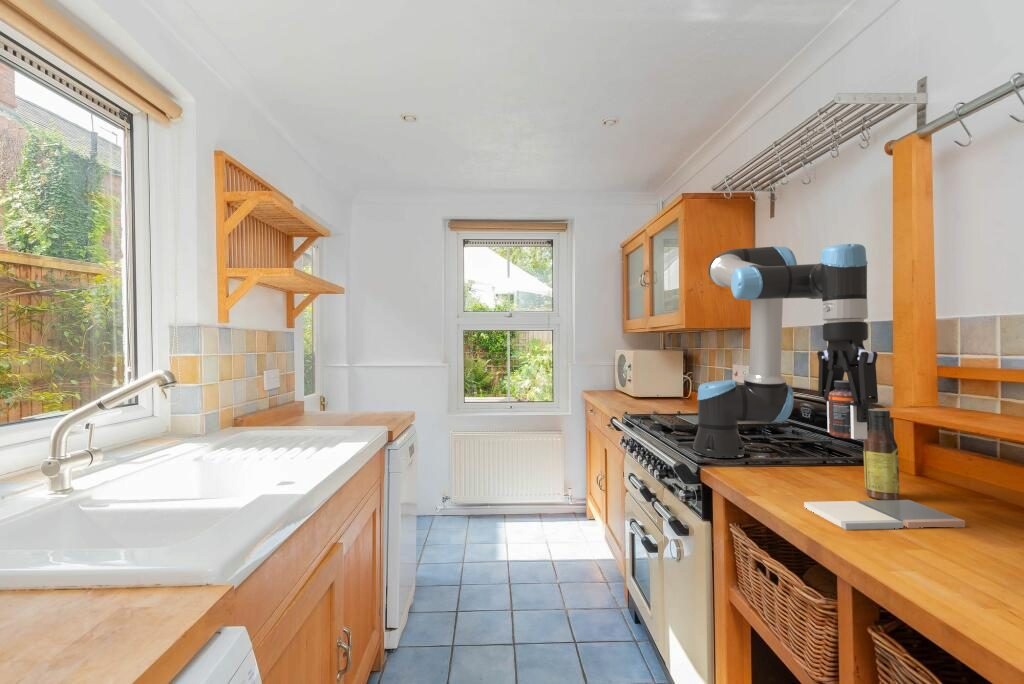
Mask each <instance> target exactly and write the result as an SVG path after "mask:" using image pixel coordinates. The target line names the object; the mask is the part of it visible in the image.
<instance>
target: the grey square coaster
mask: <svg viewBox="0 0 1024 684" xmlns="http://www.w3.org/2000/svg"><path fill="white" fill-rule="evenodd" d="M858 503H860V504H863V505H865V506H867V507H869V508H872V509H874V510H876V511H878V512H881V513H883V514H885V515H888V516H890V517H892V518H894V519H897V520H899V521H901V522H903V527H904V526H905V527H904V528H906V527H907V528H906V529H908V528H909V529H924V528H923V527H954V528H966V520H964V519H961V518H958V517H956V516H953V515H950V514H948V513H945V512H942V511H940V510H937V509H935V508H933V507H929V506H928V505H927V506H926V505H924V504H922V503H919V502H917V501H916V502H915V501H913V500H910V499H898V500H879V499H875V500H859V501H858ZM919 527H921V528H919Z"/></svg>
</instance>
